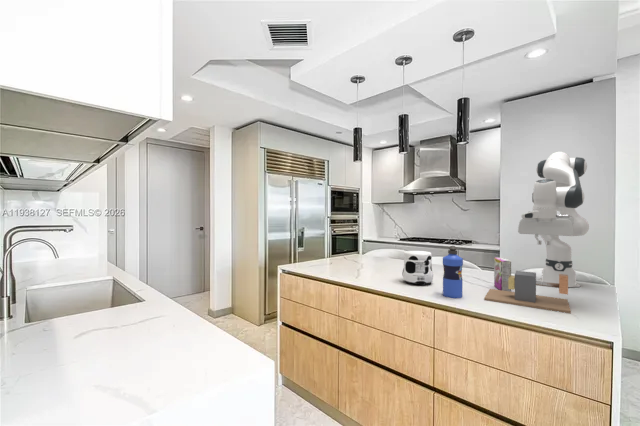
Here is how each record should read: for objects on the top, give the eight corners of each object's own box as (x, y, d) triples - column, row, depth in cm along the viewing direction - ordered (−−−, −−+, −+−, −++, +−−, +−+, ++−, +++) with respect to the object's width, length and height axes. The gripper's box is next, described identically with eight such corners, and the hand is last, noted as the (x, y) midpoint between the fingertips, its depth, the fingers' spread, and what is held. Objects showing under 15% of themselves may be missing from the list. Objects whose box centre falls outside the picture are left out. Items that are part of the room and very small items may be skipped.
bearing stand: (489, 290, 161) (490, 266, 161) (567, 301, 143) (567, 273, 142) (484, 300, 145) (484, 272, 145) (570, 313, 126) (571, 282, 126)
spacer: (509, 286, 150) (509, 275, 150) (515, 287, 149) (515, 275, 148) (508, 288, 146) (508, 277, 145) (514, 289, 144) (514, 277, 144)
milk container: (415, 278, 191) (415, 249, 191) (439, 283, 177) (439, 252, 176) (396, 281, 182) (396, 251, 182) (419, 288, 167) (419, 255, 167)
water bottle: (439, 295, 152) (439, 246, 152) (446, 291, 159) (446, 244, 159) (459, 299, 146) (459, 247, 146) (465, 295, 153) (465, 245, 153)
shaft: (503, 284, 151) (503, 268, 151) (567, 292, 136) (567, 274, 136) (502, 286, 147) (503, 269, 147) (567, 294, 133) (568, 276, 133)
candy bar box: (493, 286, 170) (493, 257, 170) (503, 286, 169) (503, 257, 169) (501, 291, 159) (501, 260, 159) (511, 292, 158) (511, 261, 158)
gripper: (573, 214, 135) (573, 245, 136) (518, 214, 148) (518, 242, 148) (574, 215, 130) (574, 247, 131) (517, 214, 142) (517, 243, 143)
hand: (544, 244), depth 139 cm, fingers open, 2 cm apart
